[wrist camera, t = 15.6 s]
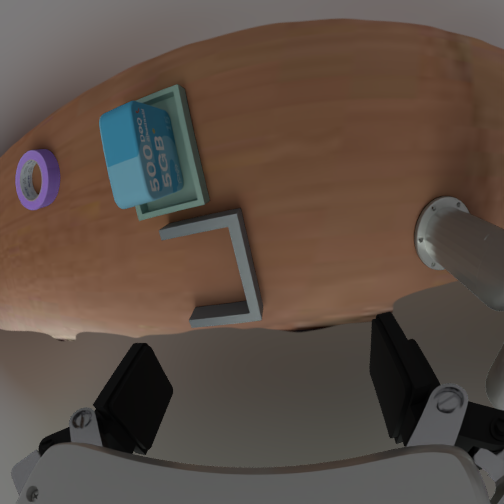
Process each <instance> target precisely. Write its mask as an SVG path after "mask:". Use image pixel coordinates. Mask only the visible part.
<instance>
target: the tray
mask: <svg viewBox="0 0 504 504" xmlns="http://www.w3.org/2000/svg"><path fill="white" fill-rule="evenodd" d="M136 101H137V102H140V103H144V104H147V105H150V106H153V107H156V108H159V109H162V110H165V111H166V112H167V113H168V115H169V117H170V120H171V125H172V130H173V135H174V140H175V145H176V149H177V154H178V159H179V163H180V168H181V172H182V177H183V188H182V189H181V190H180V191H177V192H175V193H172V194H170V195H167V196H165V197H162V198H160V199H157V200H155V201H152V202H148V203H144V204H141V205H137V206H135V208H136V211H137V215H138V218H139V221H140V220H144V219H148V218H151V217H155V216H159V215H163V214H167V213H171V212H175V211H179V210H183V209H187V208H192V207H196V206H200V205H205V204H206V203H208V202H209V201H210V199H209V195H208V191H207V187H206V183H205V178H204V174H203V170H202V166H201V161H200V157H199V153H198V148H197V144H196V139H195V135H194V130H193V126H192V121H191V117H190V112H189V107H188V102H187V98H186V93H185V89H184V88H183V87H181V86H179V85H178V84H177V85H174V86H172V87H169V88H166V89H163V90H161V91H158V92H156V93H153V94H151V95H148V96H146V97H143V98H141V99H139V100H136Z"/></svg>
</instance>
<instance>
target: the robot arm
mask: <svg viewBox="0 0 504 504" xmlns="http://www.w3.org/2000/svg"><path fill="white" fill-rule="evenodd" d="M414 242H415V248H416V251H417V254H418V256H419V258H420V259H421V261H422V262H423V263H424V264H425V265H427V266H428V267H430V268H431V269H435V270H444V269H446V270H447V271H448V272H449V273H451V274H452V275H453V276H454V277H455V278H456V279H458V280H459V281H460V282H461V283H462V284H463V285H465V286H466V287H467V288H468V289H469V290H470V291H471V292H472V293H474V294H475V295H476V296H477V297H478V298H479V299H480V300H481V301H482V302H483V303H484V304H486V305H487V306H488V307H489V308H491V309H493V310H496V311H504V229H502V228H500V227H498V226H496V225H494V224H492V223H489V222H487V221H485V220H483V219H481V218H478V217H476V216H474V215H471V214H469V211H468V209H467V208H466V206H465V205H464V204H463V203H462V202H461V201H460V200H458V199H457V198H454V197H450V196H442V197H439V198H436V199H434V200H433V201H431V202H430V203H429V204H428V205H427V206H426V207H425V208H424V210H423V211H422V213H421V215H420V217H419V219H418V221H417V224H416V228H415V238H414ZM370 375H371V378H372V381H373V384H374V387H375V390H376V393H377V396H378V400H379V403H380V406H381V410H382V413H383V416H384V419H385V423H386V426H387V430H388V434H389V437H390V438H395V442H396V444H398V443H401V442H403V444H404V446H405V447H404V448H398V449H393V450H388V451H384V452H379V453H374V454H370V455H364V456H359V457H355V458H349V459H343V460H337V461H330V462H323V463H316V464H308V465H297V466H285V467H257V468H256V467H255V468H253V467H252V468H251V467H248V468H247V467H244V468H243V467H218V466H204V465H194V464H186V463H178V462H171V461H165V460H159V459H153V458H148V457H143V456H139V455H134V454H132V453H133V451H134V452H136V453H139V454H143V455H146V453H147V451H148V450H149V449H150V448H151V447H152V444H153V441H154V439H155V436H156V434H157V431H158V429H159V426H160V424H161V421H162V419H163V416H164V414H165V412H166V409H167V407H168V404H169V402H170V399H171V397H172V394H173V387H172V385H171V384H170V382H169V380H168V378H167V376H166V375H165V373H164V371H163V369H162V367H161V365H160V363H159V361H158V360H157V358H156V356H155V354H154V352H153V350H152V348H151V347H150V346H148V344H146V343H135V344H133V345H132V347H131V348H130V350H129V351H128V352H127V354H126V355H125V357H124V358H123V360H122V361H121V363H120V364H119V366H118V367H117V369H116V370H115V372H114V373H113V375H112V376H111V378H110V379H109V381H108V382H107V384H106V385H105V387H104V389H103V390H102V391H101V393H100V395H99V396H98V398H97V399H96V401H95V402H94V404H93V406H94V407H95V408H96V410H95V411H94V410H92V409H91V408H81V409H79V410H77V411H76V412H75V413H73V415H72V416H71V418H70V421H69V427H68V428H66V429H63V430H61V431H59V432H56V433H54V434H51V435H49V436H47V437H45V438H44V439H43V440H42V441H41V443H40V445H39V451H38V450H35V451H34V452H32V453H31V454H30V455H28V456H27V457H25V458H24V459H23V460H21V461H20V462H19V463H17V464H16V465H15V466H14V467H13V469H12V472H11V475H12V479H13V481H14V484H15V486H16V489H17V491H18V494H19V498H18V500H17V502H16V504H504V344H503V346H502V347H501V349H500V351H499V353H498V355H497V357H496V358H495V360H494V362H493V364H492V366H491V368H490V370H489V372H488V375H487V378H486V385H485V387H486V393H487V396H488V398H489V400H490V402H491V403H492V405H493V406H494V407H495V408H491V407H488V406H483V405H480V404H476V403H473V402H469V401H468V395H467V393H466V391H465V390H464V389H463V388H462V387H461V386H459V385H456V384H451V383H447V384H443V385H440V383H439V381H438V379H437V377H436V375H435V374H434V372H433V370H432V368H431V366H430V365H429V363H428V361H427V360H426V358H425V356H424V354H423V353H422V351H421V349H420V347H419V346H418V344H417V343H416V341H415V340H413V339H410V340H407V338H406V336H405V335H404V333H403V331H402V329H401V328H400V326H399V324H398V323H397V321H396V319H395V318H394V316H393V315H392V313H391V312H387V313H382V314H378V315H377V316H376V319H373V320H372V334H371V353H370ZM480 469H484V470H485V471H486V472H488V473H489V474H488V476H489V477H490V478H492V479H493V481H494V482H495V484H496V489H495V494H494V495H493V497H492V498H491V500H490V499H489V496H488V492H487V489H486V486H485V483H484V481H483V478H482V476H481V474H480V471H479V470H480Z"/></svg>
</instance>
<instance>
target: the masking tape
mask: <svg viewBox="0 0 504 504" xmlns="http://www.w3.org/2000/svg"><path fill="white" fill-rule="evenodd" d="M36 163H37V164H38V166H39V168H40V171H41V176H42V185H41V190H40V193H39V195H38V194H37V193H36V192H35V190H34V187H33V183H32V172H33V169H34V166H35V164H36ZM59 185H60V170H59V165H58V162H57V160H56V158H55V156H54V154H53V153H52V152H51V151H49V150H47V149H39V150H30V151H28V152H26V153H25V154H24V155H23V156H22V158H21V159H20V161H19V164H18V167H17V171H16V190H17V194H18V197H19V199H20V201H21V203H22V204H23V206H24V207H26V208H27V209H29V210H36V209H39V208H42V207H45V206H48V205H50V204H51V203H52V202H53V201H54V200H55V198H56V196H57V193H58V190H59Z"/></svg>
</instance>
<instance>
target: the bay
mask: <svg viewBox="0 0 504 504" xmlns="http://www.w3.org/2000/svg"><path fill="white" fill-rule="evenodd" d="M224 227H229V232H230V236H231V240H232V244H233V248H234V252H235V256H236V260H237V264H238V268H239V272H240V276H241V280H242V284H243V288H244V292H245V296H246V300H247V301H242V302H235V303H227V304H219V305H211V306H203V307H195V309H194V311H193V313H192V315H191V317H190V319H189V322H190V324H191V327H192V328H194V327H205V326H216V325H225V324H234V323H243V322H251V321H259V320H262V313H263V304H262V299H261V295H260V290H259V286H258V282H257V277H256V273H255V268H254V264H253V260H252V255H251V251H250V246H249V242H248V238H247V233H246V229H245V224H244V220H243V216H242V211H241V208H238V209H233V210H228V211H223V212H218V213H214V214H209V215H204V216H200V217H195V218H191V219H186V220H182V221H178V222H173V223H169V224H168V225H166V226H165V227H163V228H162V229H160V230H159V233H160V236H161V240H166V239H171V238H175V237H180V236H185V235H190V234H195V233H199V232H204V231H209V230H214V229H219V228H224Z"/></svg>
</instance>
